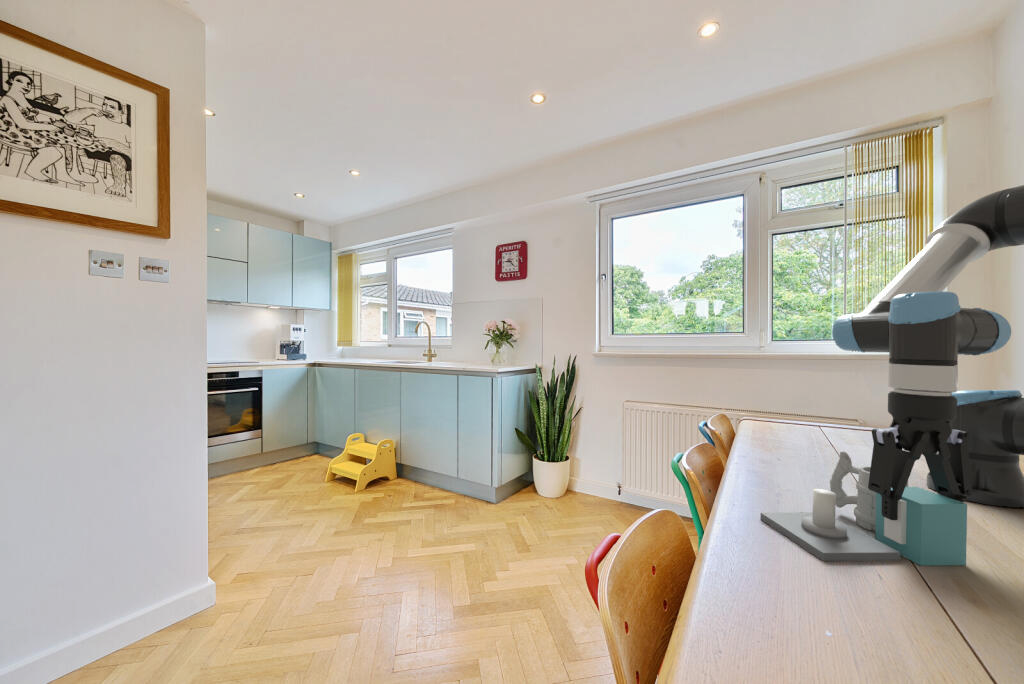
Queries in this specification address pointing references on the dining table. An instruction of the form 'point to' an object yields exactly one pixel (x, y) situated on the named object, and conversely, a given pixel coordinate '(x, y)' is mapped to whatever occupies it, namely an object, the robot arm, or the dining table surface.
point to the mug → (865, 497)
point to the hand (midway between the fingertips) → (918, 539)
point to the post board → (829, 533)
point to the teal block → (929, 528)
